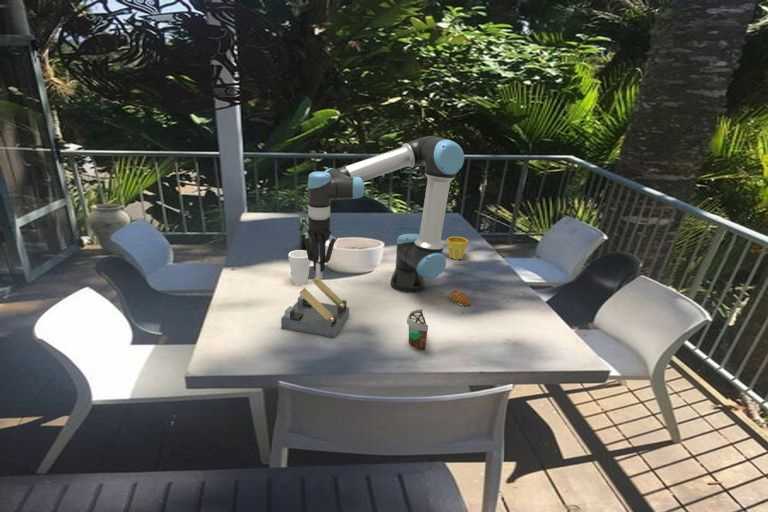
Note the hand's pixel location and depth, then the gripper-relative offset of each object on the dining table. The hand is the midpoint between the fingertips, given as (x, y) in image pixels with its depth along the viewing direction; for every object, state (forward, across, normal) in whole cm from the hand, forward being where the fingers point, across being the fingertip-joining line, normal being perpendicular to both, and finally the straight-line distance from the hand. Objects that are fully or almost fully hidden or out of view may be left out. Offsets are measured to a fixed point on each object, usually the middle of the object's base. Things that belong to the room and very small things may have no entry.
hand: (319, 278), depth 177 cm
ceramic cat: (+15, +29, -59) cm, 67 cm away
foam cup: (+15, +19, -26) cm, 35 cm away
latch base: (+15, -1, +5) cm, 16 cm away
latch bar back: (+6, -3, 0) cm, 7 cm away
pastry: (+15, -50, -31) cm, 61 cm away
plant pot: (+15, -42, -81) cm, 92 cm away
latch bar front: (+6, -3, +11) cm, 13 cm away
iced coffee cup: (+15, -38, +7) cm, 42 cm away
